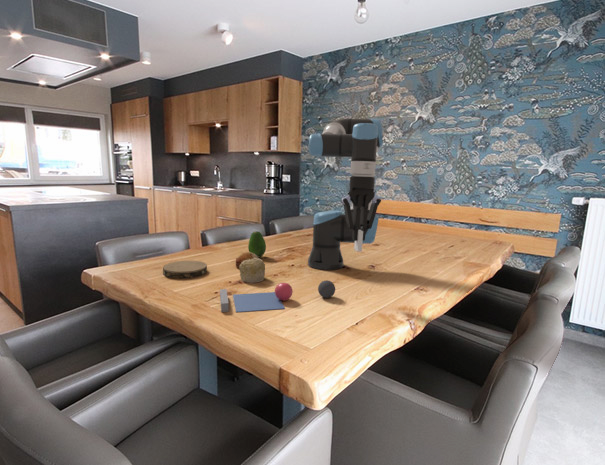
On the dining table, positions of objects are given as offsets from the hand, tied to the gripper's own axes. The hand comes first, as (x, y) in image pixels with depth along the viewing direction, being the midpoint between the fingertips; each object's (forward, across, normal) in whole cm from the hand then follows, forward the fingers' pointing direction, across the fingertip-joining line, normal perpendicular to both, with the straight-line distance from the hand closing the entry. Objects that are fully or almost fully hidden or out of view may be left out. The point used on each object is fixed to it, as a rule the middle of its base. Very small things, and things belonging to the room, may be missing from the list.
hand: (358, 250), depth 113 cm
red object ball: (+13, -24, 0) cm, 27 cm away
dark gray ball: (+12, -10, 0) cm, 16 cm away
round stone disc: (+16, -55, +35) cm, 67 cm away
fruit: (+15, -25, +55) cm, 63 cm away
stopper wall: (+15, -42, 0) cm, 45 cm away
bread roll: (+15, -31, +40) cm, 53 cm away
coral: (+15, -31, +23) cm, 42 cm away
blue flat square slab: (+15, -32, 0) cm, 35 cm away
